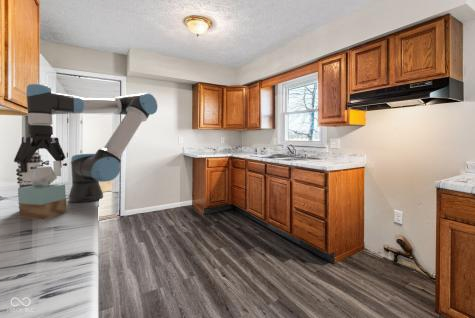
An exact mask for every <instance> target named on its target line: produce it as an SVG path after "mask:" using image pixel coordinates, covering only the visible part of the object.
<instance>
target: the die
mask: <svg viewBox="0 0 475 318" xmlns="http://www.w3.org/2000/svg"><path fill="white" fill-rule="evenodd" d="M57 178H58V176H56V175H55V173H54V168H53V166H41V167H37V168H36V169H34V170H33V171H32V172H31V183H32V185H33V186H34V187H47V186H48V185H49V184H53V182H54V181H56V180H57Z"/></svg>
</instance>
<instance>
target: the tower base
mask: <svg viewBox="0 0 475 318" xmlns="http://www.w3.org/2000/svg"><path fill="white" fill-rule="evenodd" d="M67 209H68V208H67V198H66V199H62V200H59V201H55V202H51V203H47V204H43V205H35V204H19V203H18V210H19V219H29V220H47V219H50V218H53V217H55V216H59V215H61V214H64V213H67V212H68V210H67Z"/></svg>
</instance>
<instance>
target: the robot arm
mask: <svg viewBox="0 0 475 318" xmlns="http://www.w3.org/2000/svg"><path fill="white" fill-rule="evenodd" d="M51 88H52V87H50V86H48V85H46V84H45V85H44V84H38V83H31V84H28V85H27V86H26V106H27V122H28V124H29V125H28V126H27V129H28V134H29V135H30V136H22V137H21V143H20V145H19V148H18V151H17V152H16V154H15V157H14V159H13V162H14V163H16V164H17V163H18V164H20V167H21V172H22V176H23V181H31V168H30V164H27V163H28V162H29V161H30V159H31V158H32V156H33V155H34V154H35V152H37V151H39V149H41V150H42V149H43V150H46V151H47V152H48V153H49V155H50V156H51V157H52V158H53V161H52V162H53V163H52V164H53V165H52V167H53V171H54V173H55V175H56V177H61V176H62V166H63V165H62V162H63V161H64V160H65V159H67V158H66V155H65V153H64V150H63V148H62V147H61V144H60V141H59V139H60V138H58V137H52V136H53V134H54V128H53V127H54V126H53V115H66V114H68V115H69V114H70V115H71V114H74V115H75V114H110V113H113V114H114V115H124V117H123V119H122V120H121V121H120V122H119V124H118V126H117V127H116V129H115V130H114V132H113V133H112V134H111V136H110V138H109V139H108V140H107V142H106V144H105V145H104V147H103V148H99V149H98V150H97V151H96V152H95V153H79V154H74V155H72V156H71V158H70V160H71V161H70V166H71V183H72V184H71V188H70V191H69V195H68V202H70V203H86V202H87V203H88V202H89V203H90V202H94V201H98V200H101V199H103V198H104V192H103V191H102V187H101V185H100V183H101V182H103V183H104V182H110V181H113V180H115V179H116V178H117V177H118V175H119V174H120V171H121V162H122V159H121V156H122V155H123V153H124V152H125V150H126V148H127V147H128V146H129V143H130V142H131V140H132V138H133V137H134V136H135V133H136V132H137V131H138V129H139V127H140V125H141V124H142V122H146V121H147V120H148V118H149V117H150V115H154V114H155V113H156V112H157V110H158V101H157V100H156V98H155V96H154V95H152V94H151V93H148V92H141V93H137V94H129V95H125V96H113V97H111V98H99V97H98V98H96V97H95V98H93V97H87V98H86V97H81V96H76V95H72V94H64V93H56V92H54V91H52V89H51ZM18 164H17V165H18Z"/></svg>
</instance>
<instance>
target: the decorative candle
mask: <svg viewBox="0 0 475 318" xmlns="http://www.w3.org/2000/svg"><path fill="white" fill-rule="evenodd" d="M41 157H42V155H41V154H40V153H39V152H37V151H36V152H35V154H34V155H33V156H32V158H31V159H30V161H29V162H28V163H27V164H30V168H31V172H32V171H33V170H34V169H36V168H37V167H44V164H42V158H41ZM16 164H17V168H16V170H15V171H16V172H17V173H16V174H15V175H16V176H18V177H17V178H16V180H17V182H16V183H17V185H19V187H18V188H21V187H27V186H33V185H32V183H31V181H23V176H22V172H21V167H20V164H18V163H17V162H16ZM17 199H18V198H17ZM18 201H19V199H18Z"/></svg>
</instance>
